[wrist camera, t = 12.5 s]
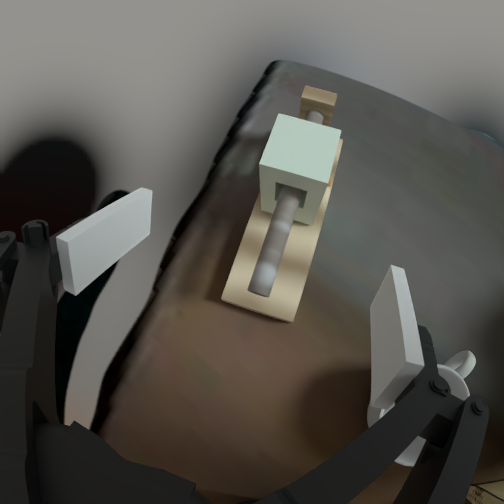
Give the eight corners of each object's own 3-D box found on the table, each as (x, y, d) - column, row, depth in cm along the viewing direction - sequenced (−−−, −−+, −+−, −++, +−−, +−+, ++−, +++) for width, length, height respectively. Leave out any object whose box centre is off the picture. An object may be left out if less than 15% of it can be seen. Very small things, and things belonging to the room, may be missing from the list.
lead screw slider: (291, 323, 34) (301, 316, 24) (223, 301, 35) (206, 285, 25) (340, 148, 40) (357, 96, 30) (284, 132, 41) (287, 78, 31)
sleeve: (312, 225, 35) (328, 183, 25) (261, 210, 36) (259, 163, 26) (324, 180, 36) (341, 130, 27) (276, 167, 37) (278, 113, 28)
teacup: (380, 461, 29) (405, 486, 21) (340, 396, 32) (360, 410, 24) (464, 393, 31) (501, 400, 23) (431, 328, 33) (467, 322, 26)
